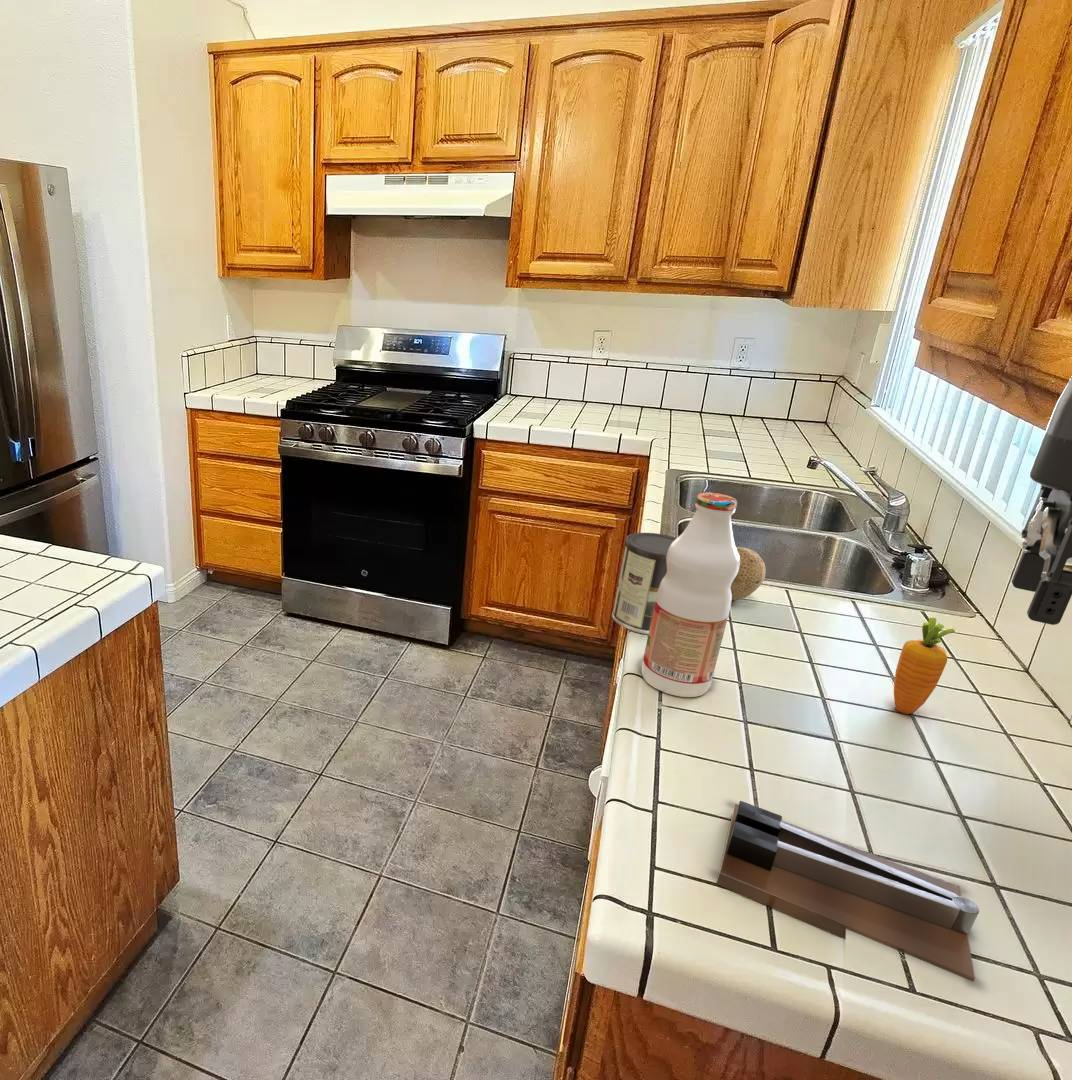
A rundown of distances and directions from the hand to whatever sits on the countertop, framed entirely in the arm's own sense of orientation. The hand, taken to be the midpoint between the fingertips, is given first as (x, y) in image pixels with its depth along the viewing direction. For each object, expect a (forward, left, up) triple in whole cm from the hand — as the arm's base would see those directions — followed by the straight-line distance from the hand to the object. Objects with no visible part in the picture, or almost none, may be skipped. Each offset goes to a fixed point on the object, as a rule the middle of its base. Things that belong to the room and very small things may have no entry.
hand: (1032, 604), depth 71 cm
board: (+9, +15, -28) cm, 33 cm away
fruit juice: (+30, -17, -28) cm, 44 cm away
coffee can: (+38, -34, -28) cm, 58 cm away
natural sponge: (+27, -53, -28) cm, 66 cm away
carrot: (+2, -26, -28) cm, 38 cm away
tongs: (+9, +15, -27) cm, 32 cm away
